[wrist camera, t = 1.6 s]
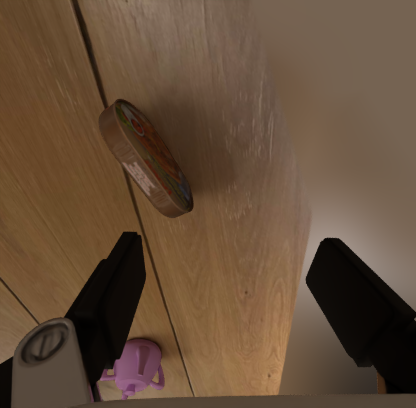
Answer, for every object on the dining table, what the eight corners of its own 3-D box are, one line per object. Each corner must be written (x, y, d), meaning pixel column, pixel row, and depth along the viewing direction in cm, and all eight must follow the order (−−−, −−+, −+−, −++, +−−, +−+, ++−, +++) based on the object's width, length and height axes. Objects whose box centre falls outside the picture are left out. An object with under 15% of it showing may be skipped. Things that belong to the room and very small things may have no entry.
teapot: (151, 330, 46) (141, 376, 39) (171, 358, 53) (166, 402, 45) (107, 339, 48) (88, 386, 40) (132, 365, 54) (120, 410, 46)
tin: (196, 193, 30) (194, 223, 23) (179, 202, 31) (172, 233, 23) (135, 98, 24) (105, 94, 16) (115, 111, 24) (77, 114, 17)
